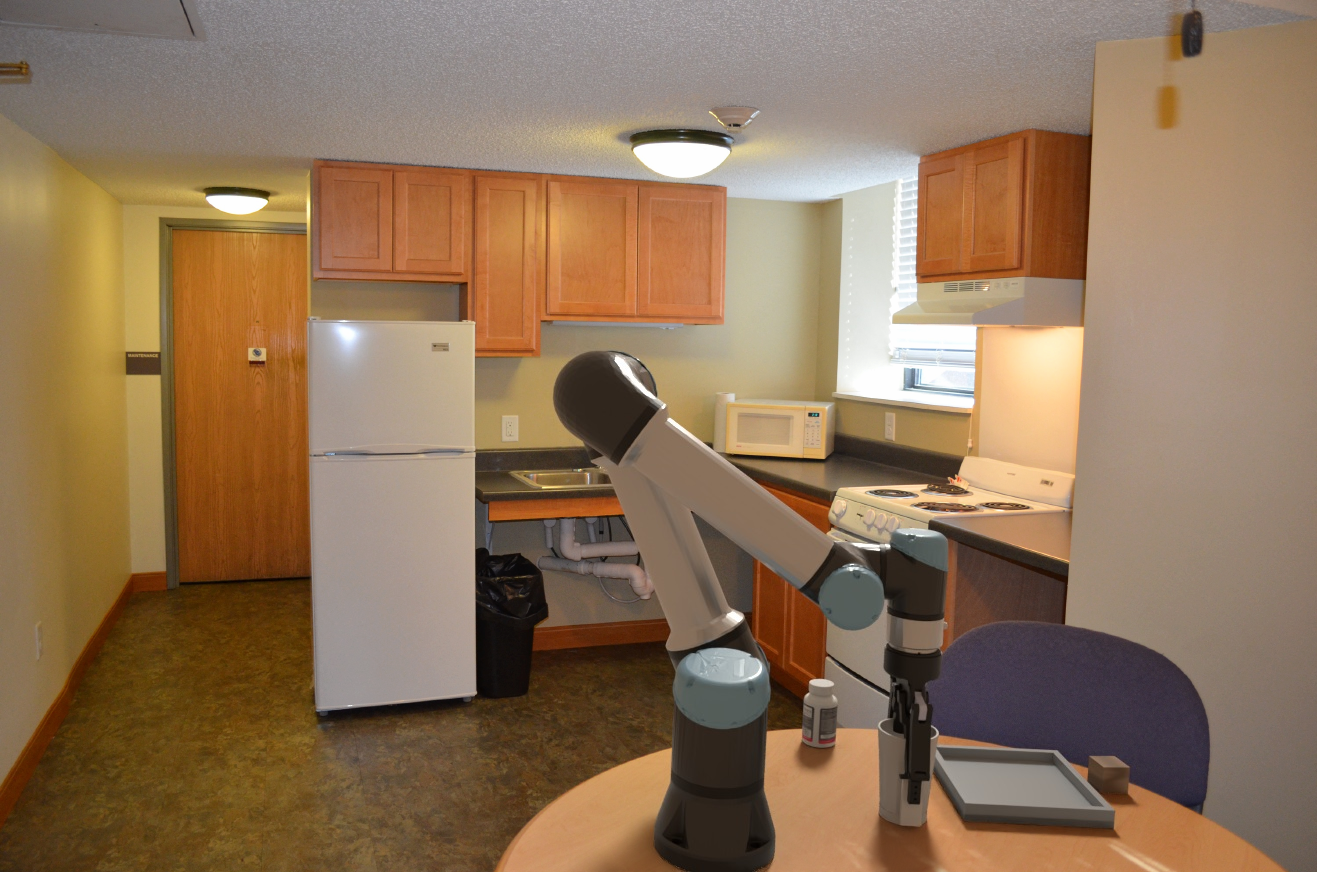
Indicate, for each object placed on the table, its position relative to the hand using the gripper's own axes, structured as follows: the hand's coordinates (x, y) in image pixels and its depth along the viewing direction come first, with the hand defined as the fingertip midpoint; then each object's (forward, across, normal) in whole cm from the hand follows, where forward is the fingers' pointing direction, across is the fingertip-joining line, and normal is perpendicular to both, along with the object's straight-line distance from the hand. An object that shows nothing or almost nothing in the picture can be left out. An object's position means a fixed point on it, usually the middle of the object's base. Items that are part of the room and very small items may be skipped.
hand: (902, 809), depth 131 cm
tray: (+1, +9, -18) cm, 20 cm away
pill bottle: (+1, +24, +8) cm, 25 cm away
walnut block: (+1, +12, -33) cm, 35 cm away
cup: (+1, 0, 0) cm, 1 cm away
